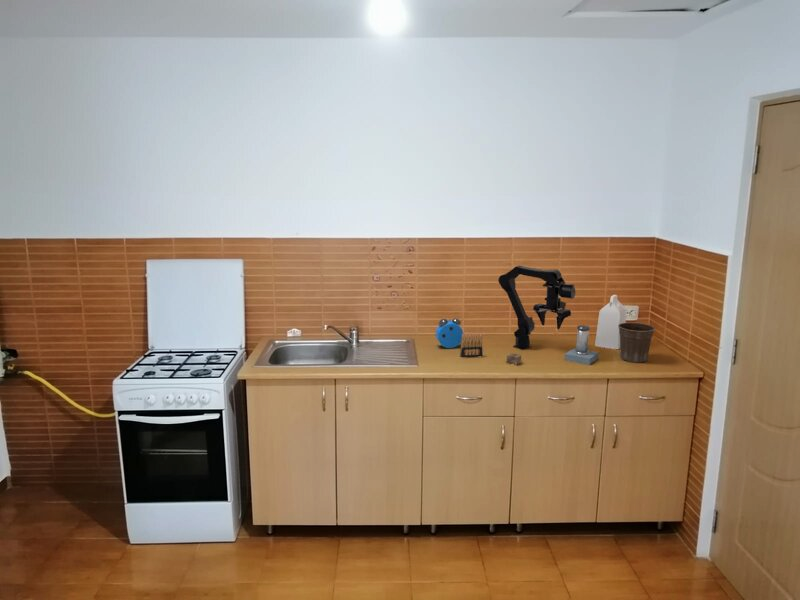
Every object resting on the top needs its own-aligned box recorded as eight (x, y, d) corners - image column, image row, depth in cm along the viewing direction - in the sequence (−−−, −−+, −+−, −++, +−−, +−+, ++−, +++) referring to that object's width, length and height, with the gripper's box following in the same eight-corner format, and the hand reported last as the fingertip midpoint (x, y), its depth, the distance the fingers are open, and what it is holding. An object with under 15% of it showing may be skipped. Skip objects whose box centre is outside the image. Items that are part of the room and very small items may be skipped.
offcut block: (506, 363, 282) (506, 355, 281) (511, 360, 286) (511, 352, 285) (516, 365, 279) (516, 357, 278) (520, 362, 283) (521, 354, 282)
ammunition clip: (481, 355, 294) (482, 331, 291) (482, 356, 292) (483, 332, 289) (460, 356, 292) (460, 332, 289) (461, 357, 290) (461, 333, 288)
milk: (602, 340, 319) (606, 292, 313) (624, 344, 312) (629, 295, 306) (594, 345, 309) (598, 296, 304) (617, 349, 303) (622, 299, 297)
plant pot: (610, 353, 297) (613, 321, 293) (643, 353, 297) (646, 322, 293) (622, 364, 281) (625, 331, 277) (657, 364, 281) (660, 331, 277)
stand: (564, 359, 287) (565, 353, 287) (574, 353, 297) (574, 347, 296) (589, 364, 280) (589, 358, 279) (598, 358, 289) (598, 352, 289)
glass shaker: (574, 354, 286) (576, 327, 283) (575, 350, 291) (577, 324, 288) (587, 355, 284) (589, 328, 281) (588, 352, 289) (590, 325, 286)
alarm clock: (460, 344, 311) (460, 316, 308) (463, 348, 305) (464, 319, 302) (435, 345, 309) (435, 317, 305) (438, 349, 303) (438, 320, 299)
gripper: (579, 297, 289) (576, 328, 293) (547, 290, 304) (546, 320, 307) (564, 300, 283) (562, 332, 286) (533, 293, 297) (531, 324, 301)
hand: (550, 327), depth 295 cm, fingers open, 9 cm apart
